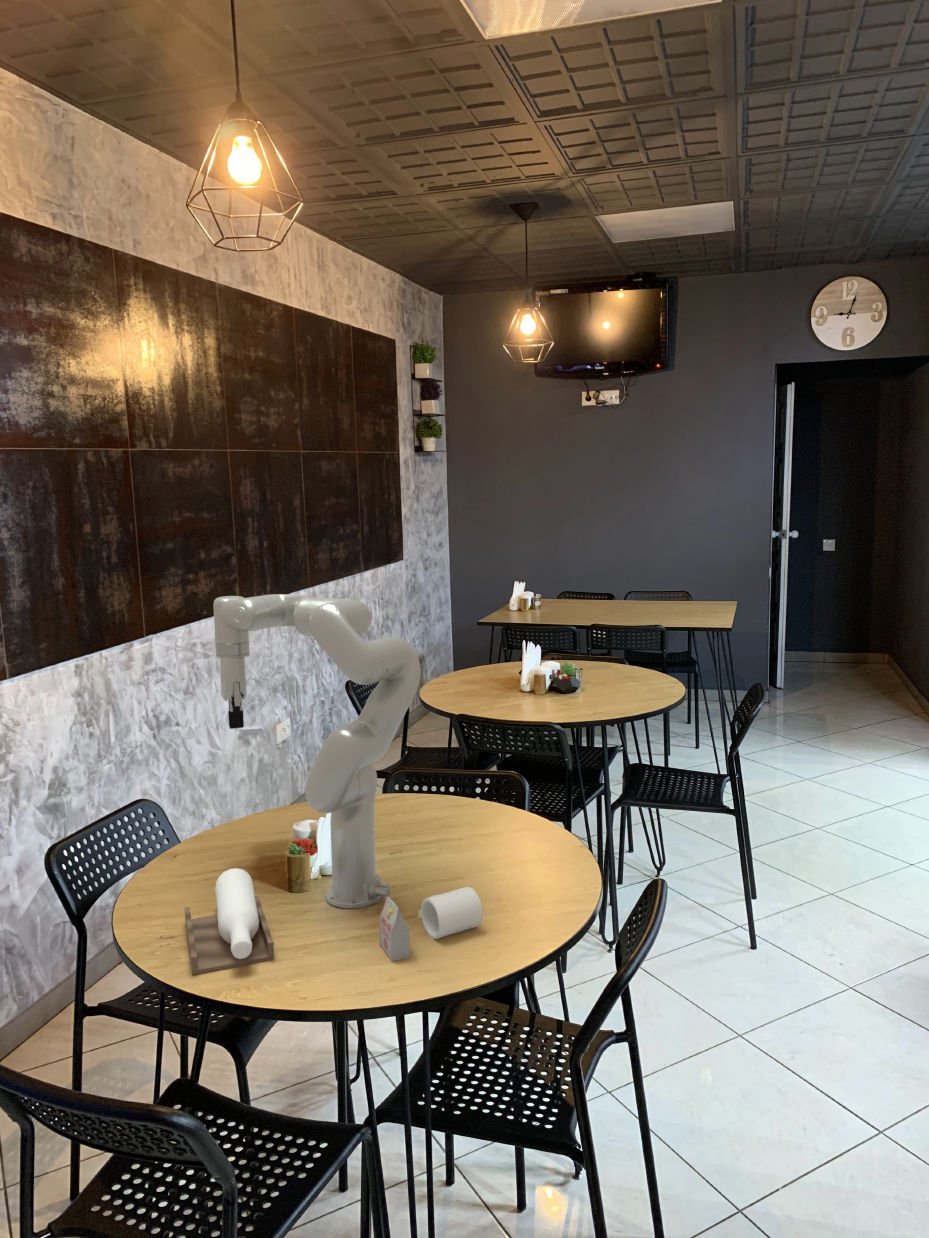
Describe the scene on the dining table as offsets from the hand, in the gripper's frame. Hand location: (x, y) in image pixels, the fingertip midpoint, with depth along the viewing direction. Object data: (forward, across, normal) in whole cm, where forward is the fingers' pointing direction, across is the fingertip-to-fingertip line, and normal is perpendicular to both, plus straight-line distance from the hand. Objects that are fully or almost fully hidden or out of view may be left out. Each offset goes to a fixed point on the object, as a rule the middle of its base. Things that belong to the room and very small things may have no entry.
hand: (236, 727), depth 205 cm
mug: (+35, +45, +35) cm, 68 cm away
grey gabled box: (+35, +51, +23) cm, 66 cm away
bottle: (+30, +18, -4) cm, 36 cm away
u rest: (+35, +34, -7) cm, 49 cm away
